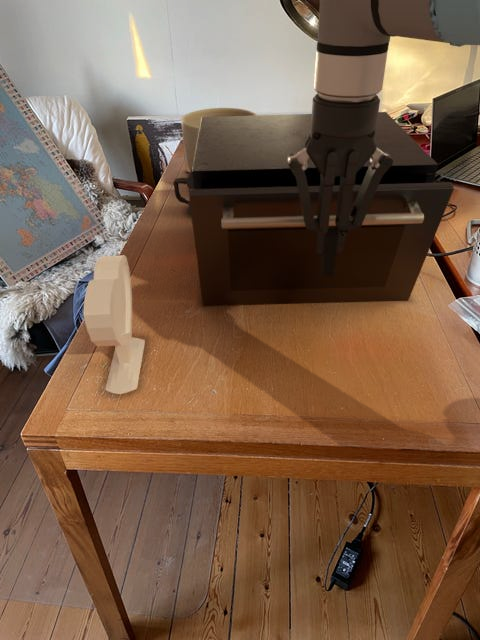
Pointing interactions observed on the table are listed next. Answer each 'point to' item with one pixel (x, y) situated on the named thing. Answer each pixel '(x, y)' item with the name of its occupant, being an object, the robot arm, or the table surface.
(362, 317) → the table surface
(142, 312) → the table surface
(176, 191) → the mug
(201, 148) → the oven
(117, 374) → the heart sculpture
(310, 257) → the oven door
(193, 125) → the planter
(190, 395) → the table surface
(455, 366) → the table surface
